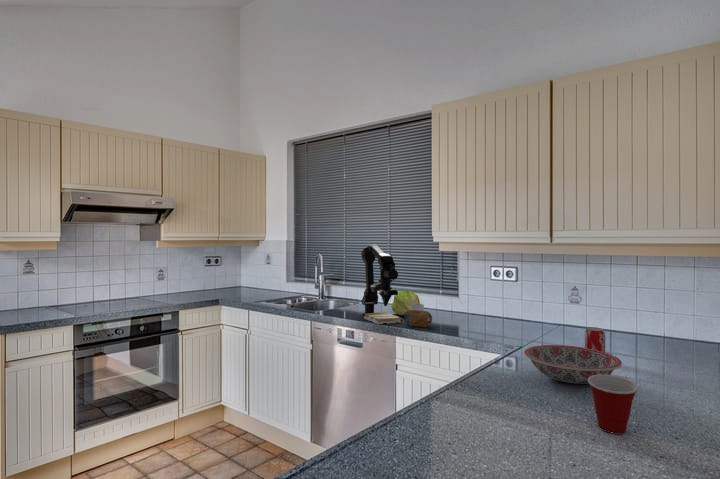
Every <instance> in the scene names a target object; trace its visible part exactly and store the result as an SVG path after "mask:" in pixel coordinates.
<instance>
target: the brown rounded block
mask: <svg viewBox="0 0 720 479" xmlns="http://www.w3.org/2000/svg"><path fill="white" fill-rule="evenodd" d="M403 316H404V317H403V318H404V319H403V320H404V322H405V323H406V325H407V326H409V325H410V327H418V326H419V327H421V328H426V327H429V326H431V324H432V322H433V317H432V314H431V312H429V311H427V310H424V311H420V310H409V311H407V312H406V313H405V315H403Z"/></svg>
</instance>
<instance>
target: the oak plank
mask: <svg viewBox="0 0 720 479" xmlns="http://www.w3.org/2000/svg"><path fill="white" fill-rule="evenodd" d="M368 318H370V319H373V320H375V321H377V322H385V321H396V320H401V317H400V316H397V315H394V314H391V313H389V312H386V314H374V315H368Z"/></svg>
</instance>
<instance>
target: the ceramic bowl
mask: <svg viewBox="0 0 720 479" xmlns="http://www.w3.org/2000/svg"><path fill="white" fill-rule="evenodd" d="M523 354H524V356H525V357H526V358H527V359H529V360H530V361H531V363H532V364H533V366H534V367H535V368H536V369H537V370H538V371H539V372H540V373H542V374H543V375H544V376H546V377H548V378H550V379H552V380H556V381H559V382H563V383H568V384H575V385H576V384H577V385H585V384H586V385H588V384H589V382H588V377H590V376H592V375H599V374H602V375H612V373H613V372H614V370H617V369H619V368H621V367H622V365H623V362H622V360H621V359H620V358H619V357H617V356H615V355H613V354H611V353H607V352H606V351H605V352H601V351H598V350H593V349H588V348H585V347H581V346H574V345H563V344H562V345H561V344H558V345H557V344H542V345H534V346H530V347H528V348H526V349H525V350H524V351H523ZM589 385H590V384H589Z"/></svg>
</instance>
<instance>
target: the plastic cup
mask: <svg viewBox="0 0 720 479" xmlns="http://www.w3.org/2000/svg"><path fill="white" fill-rule="evenodd" d="M588 382H589V385H590V390H591V393H592V399H593V403H594V404H593V405H594V410H595V415H596V420H597V425H598V428H599V427H600V428H601V429H603V430H606V431H609V432H613V433H624V432H625V433H626V431H627V427H628V424H629V423H628V422H629V419H630V415H631V409H632V406H633V400H634V397H635V394H636V392H638V391H639V385H638V384H637V383H636V382H634V381H632V380H630V379H628V378H625V377H622V376H618V375H612V374H610V375H602V374H599V375H592V376H590V377H588ZM600 428H599V429H600ZM601 429H600V430H601ZM603 430H602V431H603ZM625 433H624V434H625Z"/></svg>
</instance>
